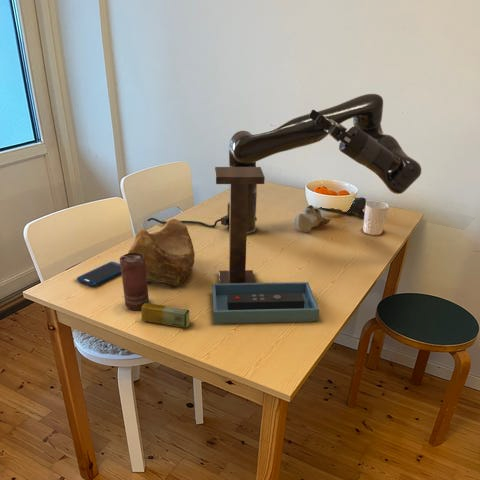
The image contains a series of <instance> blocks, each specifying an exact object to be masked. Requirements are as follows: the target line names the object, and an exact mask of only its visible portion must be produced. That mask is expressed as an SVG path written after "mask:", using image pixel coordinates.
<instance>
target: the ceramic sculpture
mask: <svg viewBox="0 0 480 480" xmlns="http://www.w3.org/2000/svg"><path fill="white" fill-rule="evenodd" d="M331 220H332V218H326V217H322V213H321V210H320V208H317V207H314V206H313V205H312V204H311V205H308V206H306V207H305V208H304V209H303V210H302V211H301V212H300V213H298V214H296V216H295V217H294V225H295V228H296V229H297V230H298V231H300V232H302V233H303V232H305V233H307V232H310V231H311V229H313V228H316V227H318V226H319V227H322V226H326V225H328V224H329V223H330V222H331Z"/></svg>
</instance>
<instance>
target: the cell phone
mask: <svg viewBox="0 0 480 480" xmlns="http://www.w3.org/2000/svg"><path fill="white" fill-rule="evenodd" d="M120 275H122V273H121V267H120V263H118V262H116V261H109V262H107V263H105V264H103V265H101V266H99V267H96V268H93V269H92V270H90V271H88V272H86V273H83V274H82V275H79V276H78V277H77V278H76V280H77V281H78V282H80V283H83V284H84V285H87V286H88V287H89V286H90V287H92V288H96V287H97V286H99V285H101V284H104V283H105V282H108V281H109V280H111V279H114V278H115V277H117V276H120Z"/></svg>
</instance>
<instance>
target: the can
mask: <svg viewBox="0 0 480 480" xmlns="http://www.w3.org/2000/svg"><path fill="white" fill-rule="evenodd" d="M119 264H120V267H121V280H122V288H123V295H124V296H123V297H124V303H125V307H127V309H129V310H131V311H142V310H141V307H142V305H143V304H145V303H149V304H150V298H149V289H148V282H147V276H146V266H145V259H144V257H143V255H141V254H139V253H128V252H127V253H125V254H123V255H121V256H120V257H119Z"/></svg>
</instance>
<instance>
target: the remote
mask: <svg viewBox="0 0 480 480" xmlns="http://www.w3.org/2000/svg"><path fill="white" fill-rule="evenodd" d="M304 303H305V300H304V298H303V295H302V293H276V294H230V295H227V304H228V310H257V309H300V308H304Z"/></svg>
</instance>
